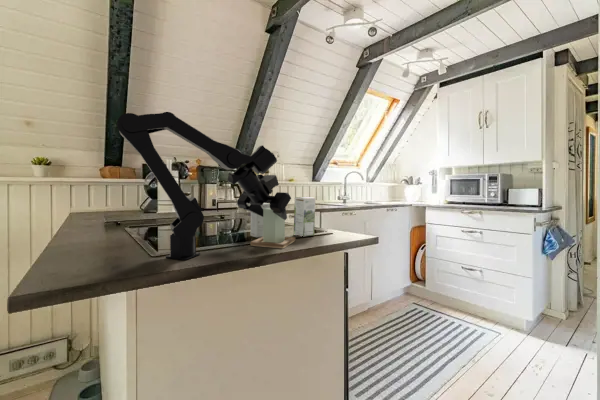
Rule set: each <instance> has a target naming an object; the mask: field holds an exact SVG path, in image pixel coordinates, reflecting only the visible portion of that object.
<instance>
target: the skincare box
mask: <svg viewBox="0 0 600 400" xmlns="http://www.w3.org/2000/svg"><path fill="white" fill-rule="evenodd" d="M261 207H262V209H267V208H270V203H263V205H261ZM250 236H251V237H253V238H261V237H263V217H262V216H260V215H257V214H255V213H253V212H250Z"/></svg>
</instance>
